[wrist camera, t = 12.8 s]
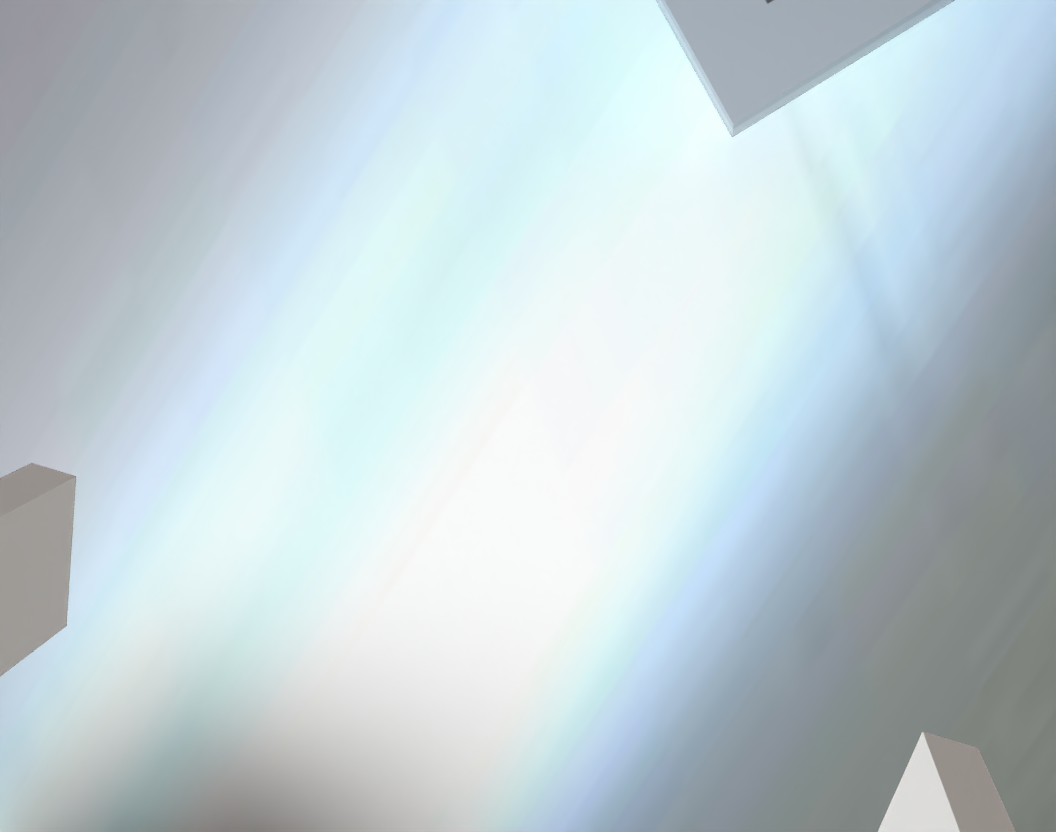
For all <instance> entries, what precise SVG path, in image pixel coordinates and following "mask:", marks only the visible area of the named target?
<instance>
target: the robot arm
mask: <svg viewBox="0 0 1056 832" xmlns="http://www.w3.org/2000/svg"><path fill="white" fill-rule="evenodd" d="M75 486H76V476H73V475H70V474H67V473H63V472H60V471H57V470H53V469H50V468H47V467H44V466H40V465H37V464H34V463H31V464H29V465H27V466H24V467H22V468H20V469H18V470H16V471H14V472H12V473H10V474H8V475H6V476H4V477H2V478H0V676H2V675H3V674H4V673H5V672H7V671H8V670H9V669H11V668H12V667H13V666H15V665H16V664H17V663H19V662H20V661H21V660H23V659H24V658H25V657H26V656H28V655H29V654H30V653H32V652H33V651H34V650H36V649H37V648H38V647H40V646H41V645H42V644H43V643H45V642H46V641H47V640H49V639H50V638H51V637H53V636H54V635H55V634H57V633H58V632H59V631H61V630H62V629H63V628H64V627H66V626H67V610H68V595H69V579H70V564H71V548H72V532H73V517H74V501H75ZM878 832H1015V829H1014V827H1013V825H1012V823H1011V820H1010V818H1009V816H1008V814H1007V812H1006V809H1005V807H1004V805H1003V803H1002V801H1001V798H1000V796H999V794H998V792H997V789H996V787H995V785H994V783H993V781H992V778H991V776H990V774H989V772H988V770H987V767H986V765H985V763H984V761H983V758H982V756H981V754H980V752H979V750H978V748H976V747H972V746H969V745H966V744H963V743H959V742H956V741H953V740H949V739H946V738H943V737H939V736H936V735H933V734H929V733H926V732H922V734H921V736H920V739H919V741H918V743H917V745H916V748H915V750H914V752H913V754H912V757H911V759H910V761H909V763H908V765H907V768H906V770H905V772H904V774H903V777H902V779H901V781H900V783H899V786H898V788H897V790H896V792H895V794H894V797H893V799H892V801H891V803H890V806H889V808H888V810H887V812H886V815H885V817H884V819H883V821H882V823H881V826H880V828H879V830H878Z"/></svg>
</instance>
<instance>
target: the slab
mask: <svg viewBox="0 0 1056 832" xmlns="http://www.w3.org/2000/svg"><path fill="white" fill-rule="evenodd" d="M953 1H954V0H656V2H657V3H658V5H659V7H660V9H661V11H662V12H663V14H664V16H665V18H666V20H667V21H668V23H669V25H670V27H671V29H672V30H673V32H674V34H675V36H676V38H677V39H678V41H679V43H680V45H681V47H682V48H683V50H684V52H685V54H686V56H687V57H688V59H689V61H690V63H691V65H692V66H693V68H694V70H695V72H696V74H697V75H698V77H699V79H700V81H701V83H702V84H703V86H704V88H705V90H706V92H707V93H708V95H709V97H710V99H711V101H712V102H713V104H714V106H715V108H716V110H717V111H718V113H719V115H720V117H721V119H722V120H723V122H724V124H725V126H726V128H727V129H728V131H729V133H730V135H731V137H733V136H735V135H737V134H738V133H740V132H741V131H743V130H745V129H746V128H748V127H750V126H751V125H753V124H754V123H756V122H758V121H759V120H761V119H763V118H764V117H766V116H767V115H769V114H771V113H772V112H774V111H776V110H777V109H779V108H780V107H782V106H784V105H785V104H787V103H789V102H790V101H792V100H793V99H795V98H797V97H798V96H800V95H802V94H803V93H805V92H806V91H808V90H810V89H811V88H813V87H815V86H816V85H818V84H819V83H821V82H823V81H824V80H826V79H828V78H829V77H831V76H832V75H834V74H836V73H837V72H839V71H841V70H842V69H844V68H845V67H847V66H849V65H850V64H852V63H854V62H855V61H857V60H858V59H860V58H862V57H863V56H865V55H867V54H868V53H870V52H871V51H873V50H875V49H876V48H878V47H880V46H881V45H883V44H884V43H886V42H888V41H889V40H891V39H893V38H894V37H896V36H897V35H899V34H901V33H902V32H904V31H906V30H907V29H909V28H910V27H912V26H914V25H915V24H917V23H919V22H920V21H922V20H923V19H925V18H927V17H928V16H930V15H932V14H933V13H935V12H936V11H938V10H940V9H941V8H943V7H945V6H946V5H948V4H950V3H951V2H953Z"/></svg>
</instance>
